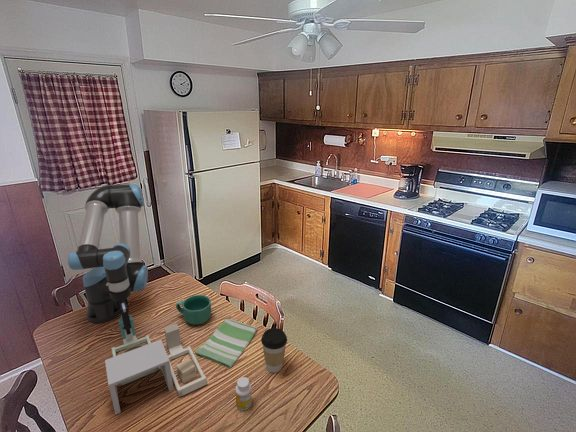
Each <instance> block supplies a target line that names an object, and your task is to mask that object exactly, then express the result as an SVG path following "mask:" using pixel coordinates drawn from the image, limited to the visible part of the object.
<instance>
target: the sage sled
mask: <svg viewBox="0 0 576 432" xmlns="http://www.w3.org/2000/svg"><path fill="white" fill-rule="evenodd" d="M129 318H130V323H131V326H132V333H133V338H132V339H130V340H127V341H126V336H125V331H124V329H122V328H123V327H124V324H123V319H122V318H121V317H120V318H118V323H119V329H120V332H121V333H120V334H121V338H122V339H121V340H122V342H123V344H122V345H119V346H113V347H111V352H112V357H115V356H117V353H118V352H121V351H125V350H126V349H128V348H130V347H132V346H136V345H141V344H143V343H145V342H147V344H150V343H152V342H151V339H150V336H149V334H147V335H145V336H144V337H141V338H139V339H138V338H137V336H136V330H135V324H134V321H133V316H132V314H129ZM160 369H161V368H160V367H158V368H155V369H153V370H150V371H148V372H146V373H143V374H141V375H138V376H136V377H133V378H131V379H129V380H126V381H124V382H121V383H119V384H117V386H118V388H119V387H122V386H125V385H126V384H129V383H132V382H134V381H136V380H138V379H141V378H143V377H146V376H148V375H151V374H153V373H156V372H158V371H160Z"/></svg>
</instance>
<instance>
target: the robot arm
mask: <svg viewBox="0 0 576 432" xmlns="http://www.w3.org/2000/svg"><path fill="white" fill-rule="evenodd" d="M143 196H144V195H143V192H142V189H141V187H140V185H139V184H135V183H133V184H131V183H127V184H126V183H125V184H110V185H109V184H108V185H102V186H101V187H98V188H97V189H95V190H94V191H93V192H92V193H91V194H90V195H89V196H88V197H87V200H86V201H85V205H84V210H85V211H86V212H85V216H84V220H83V224H82V229H81V234H80V237H79V242H78V247H77V251H72V252H70V253H69V254H68V257H67V263H68V267H69V268H70V270H74V271H77V270H87V269H89V270H87V272H86V273H84V275H83V276H82V282H83V284H82V286H83V288H84V292H85V296H86V299H87V307H86V311H85V312H86V314H85V315H86V319H87V321H88V322H90V323H92V324H100V323H101V324H102V323H105V322H110V321H112V320H113V319H115V318H117V317H119V316H120V318H122V319H123V324H124V327H123V328H122V329H124V331H125V336H126V341H127V340H130V339H132V338H133V333H132V326H131V323H130V318H129V315H130V312H129V310H130V308H129V301H128V298H129V297H130V296H131V294H132V292H140V291H143V290H145V289H146V287H147V283H148V278H149V277H148V275H149V272H148V271H149V268H148V266H147V265H145V262H144V261H143V260H142V259H141V249H140V231H139V230H140V228H139V227H140V226H139V212H141V211H142V207H144V206H145V201H144V197H143ZM109 209H114V210H115V212H116V213H117V214H118V224H119V226H118V227H119V243H117V244H115V245H114V246H113V247H107V248H100V249H99V247H100V242H101V236H102V231H103V225H104V220H105V216H106V214H107V212H108V211H109Z"/></svg>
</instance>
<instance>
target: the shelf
mask: <svg viewBox="0 0 576 432" xmlns="http://www.w3.org/2000/svg"><path fill="white" fill-rule="evenodd" d="M122 353H123V352H122ZM122 353H121V354H118V355H117V354H116V356H115V357H113V356H112V357H110V358H107V359H105V360H104V364H105V370H106V376H107V383H108V384H107V385H108V388H109V393H110V397H111V402H112V405H113V409H114V413H115V415H119V414H121V412H122V411H121V405H120V400H119V394H118V390H117V385H118V384H119V383H121V382H124V381H126V380H129V379H131V378H133V377H136V376H138V375H141V374H143V373H146V372H148V371H150V370H153V369H155V368H158V367H159V368H160V369H161V371H162V375H163V377H164V380H165V382H166V386H167V388H168V391H171V390H174V384H173V383H174V382H173V379H172V376H171V369H170V363H171V361H170V360H169V358H168V354H167V351H166V349H165V346H164V344H163V341H162V339H159V340H156V341H153V342H151V343H150V344H148V343H147V344H145V345H144V346H142V347H139V348H137V349H134V350H131V351H128V352H126V353H123V354H122ZM169 361H170V362H169Z"/></svg>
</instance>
